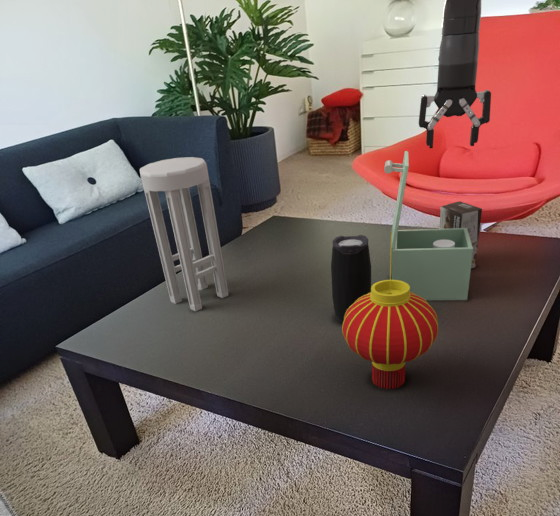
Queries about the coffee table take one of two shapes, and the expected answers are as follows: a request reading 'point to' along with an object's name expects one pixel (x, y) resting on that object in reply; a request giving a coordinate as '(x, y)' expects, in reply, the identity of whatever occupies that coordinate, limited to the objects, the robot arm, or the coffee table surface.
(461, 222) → the coffee box
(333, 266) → the portable speaker
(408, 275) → the chest
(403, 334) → the lantern
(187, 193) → the stool
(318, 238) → the coffee table surface
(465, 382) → the coffee table surface
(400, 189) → the lid
